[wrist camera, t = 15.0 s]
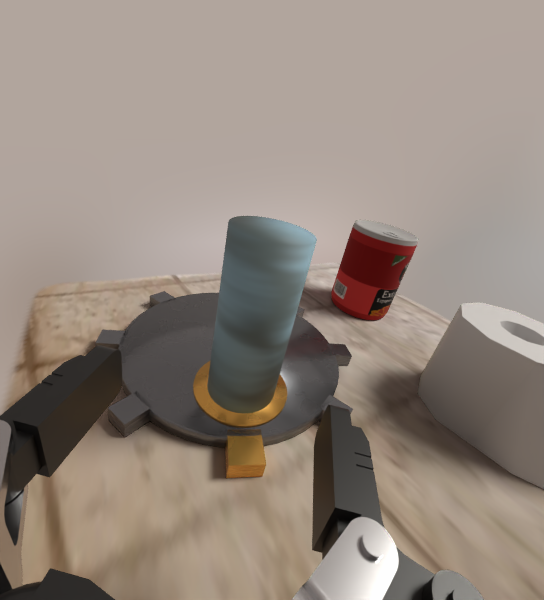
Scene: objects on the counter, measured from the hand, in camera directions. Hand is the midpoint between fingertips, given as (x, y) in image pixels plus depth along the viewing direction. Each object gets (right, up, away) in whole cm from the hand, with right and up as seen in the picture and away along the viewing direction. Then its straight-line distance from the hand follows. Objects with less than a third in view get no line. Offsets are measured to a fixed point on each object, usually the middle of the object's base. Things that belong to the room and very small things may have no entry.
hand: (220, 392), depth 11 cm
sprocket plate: (-2, -1, +16) cm, 17 cm away
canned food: (+14, +2, +31) cm, 34 cm away
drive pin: (0, -3, +11) cm, 11 cm away
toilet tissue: (+20, -7, +15) cm, 27 cm away
